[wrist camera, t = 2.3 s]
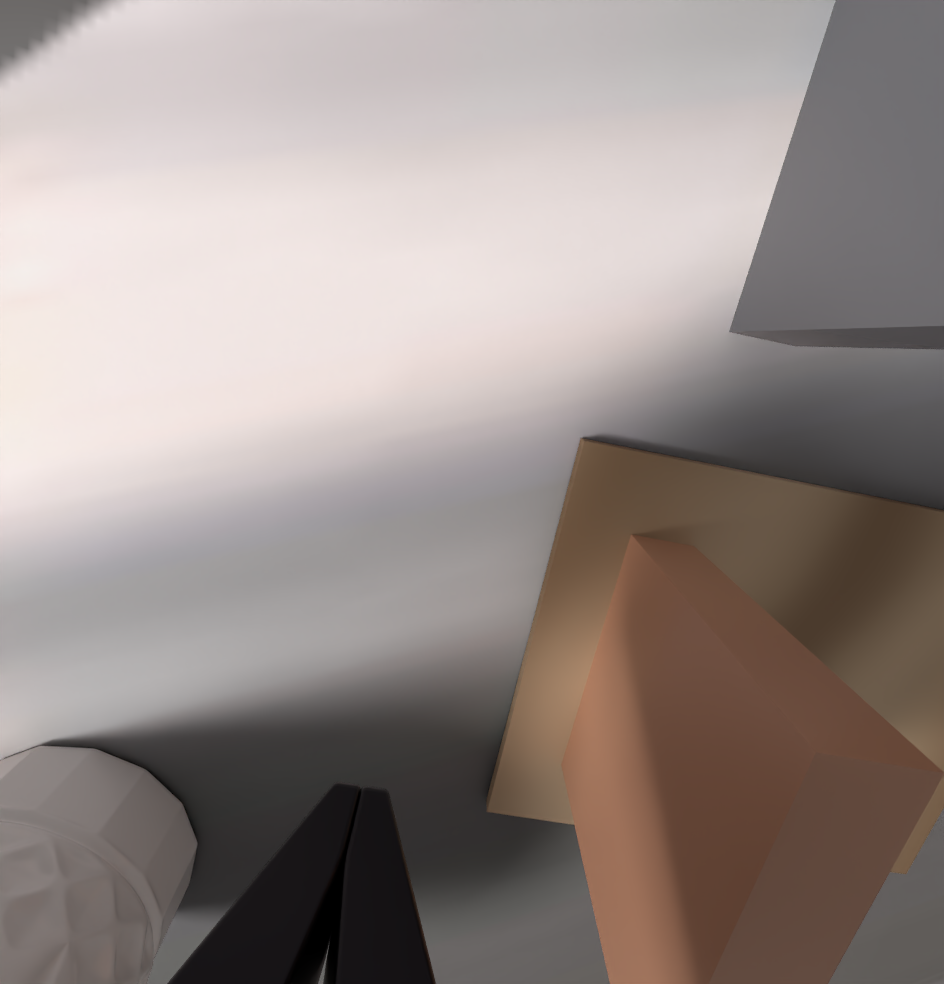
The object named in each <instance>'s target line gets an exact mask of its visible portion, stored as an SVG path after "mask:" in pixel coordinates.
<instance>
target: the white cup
mask: <svg viewBox="0 0 944 984" xmlns="http://www.w3.org/2000/svg"><path fill="white" fill-rule="evenodd" d="M197 845H198V843H197V839H196V837H195V834H194V832H193V829H192V827H191V824H190V821H189V819H188V816H187V814H186V811H185V809H184V806H183V804H182V803H181V802H180V801H179V800H178V799H177V798H176V797H175V796H174V795H173V794H172V793H171V792H170V791H169V790H168V789H167V788H166V787H165V786H163V785H162V784H161V783H160V782H159V781H158V780H157V779H156V778H155V777H154V776H153V775H152V774H150V773H149V772H148V771H147V770H146V769H144V768H142V767H139V766H137V765H134V764H132V763H129V762H127V761H125V760H122V759H120V758H117V757H115V756H112V755H110V754H107V753H105V752H102V751H100V750H98V749H94V748H79V747H58V746H38V747H35V748H32V749H29V750H27V751H24V752H21V753H18V754H16V755H13V756H10V757H8V758H5V759H2V760H0V984H146V983H147V981H148V978H149V975H150V972H151V969H152V966H153V960H154V958H155V956H156V954H157V952H158V950H159V948H160V945H161V943H162V941H163V939H164V937H165V935H166V933H167V931H168V928H169V926H170V924H171V922H172V920H173V918H174V916H175V913H176V911H177V909H178V907H179V905H180V903H181V901H182V898H183V896H184V894H185V892H186V890H187V888H188V885H189V883H190V879H191V874H192V870H193V865H194V860H195V855H196V850H197Z"/></svg>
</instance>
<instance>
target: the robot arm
mask: <svg viewBox="0 0 944 984" xmlns="http://www.w3.org/2000/svg"><path fill="white" fill-rule="evenodd" d="M329 942H330V943H329ZM328 946H329V949H328ZM327 950H328V955H327V961H326V968H325V975H324V982H323V984H436V982H435V978H434V974H433V970H432V966H431V962H430V958H429V954H428V950H427V946H426V941H425V937H424V933H423V929H422V925H421V921H420V917H419V913H418V909H417V905H416V901H415V897H414V893H413V889H412V885H411V880H410V876H409V872H408V868H407V864H406V860H405V856H404V852H403V848H402V844H401V840H400V836H399V832H398V828H397V823H396V819H395V815H394V811H393V807H392V803H391V799H390V795H389V793H388V791H387V790H386V789H383V788H376V787H370V786H364V787H363V788H362V789H360V786H359V785H357V784H350V783H343V782H336V783H334V784H333V785H332V786H331V787H330V788H329V790H328V791H327V792H326V793H325V794H324V796H323V797H322V798H321V799H320V800H319V802H318V803H317V804H316V805H315V806H314V808H313V809H312V810H311V811H310V812H309V814H308V815H307V816H306V817H305V818H304V820H303V821H302V822H301V823H300V824H299V826H298V827H297V828H296V829H295V830H294V832H293V833H292V834H291V835H290V836H289V838H288V839H287V840H286V841H285V842H284V844H283V845H282V846H281V847H280V848H279V850H278V851H277V852H276V853H275V855H274V856H273V857H272V858H271V859H270V861H269V862H268V863H267V864H266V865H265V867H264V868H263V869H262V870H261V871H260V873H259V874H258V875H257V876H256V877H255V879H254V880H253V881H252V882H251V883H250V885H249V886H248V887H247V888H246V889H245V891H244V892H243V893H242V894H241V895H240V897H239V898H238V899H237V900H236V901H235V903H234V904H233V905H232V906H231V907H230V909H229V910H228V911H227V912H226V913H225V915H224V916H223V917H222V918H221V919H220V921H219V922H218V923H217V924H216V925H215V927H214V928H213V929H212V930H211V932H210V933H209V934H208V935H207V936H206V938H205V939H204V940H203V941H202V942H201V944H200V945H199V946H198V947H197V948H196V950H195V951H194V952H193V953H192V954H191V956H190V957H189V958H188V959H187V960H186V962H185V963H184V964H183V965H182V966H181V968H180V969H179V970H178V971H177V972H176V974H175V975H174V976H173V977H172V978H171V980H170V981H169V982H168V983H167V984H318V982H319V978H320V975H321V972H322V968H323V965H324V962H325V958H326V954H327Z"/></svg>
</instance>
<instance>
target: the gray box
mask: <svg viewBox="0 0 944 984" xmlns="http://www.w3.org/2000/svg"><path fill="white" fill-rule="evenodd" d="M729 332H732V333H737V334H741V335H746V336H751V337H755V338H760V339H764V340H769V341H774V342H778V343H783V344H788V345H792V346H807V347H854V348H902V349H944V0H836V2H835V5H834V8H833V11H832V14H831V17H830V20H829V23H828V26H827V30H826V33H825V36H824V39H823V42H822V45H821V48H820V51H819V54H818V57H817V61H816V64H815V67H814V70H813V73H812V76H811V79H810V82H809V85H808V89H807V92H806V95H805V98H804V101H803V104H802V107H801V110H800V113H799V117H798V120H797V123H796V126H795V129H794V132H793V135H792V138H791V141H790V144H789V148H788V151H787V154H786V157H785V160H784V163H783V166H782V169H781V172H780V176H779V179H778V182H777V185H776V188H775V191H774V194H773V197H772V200H771V204H770V207H769V210H768V213H767V216H766V219H765V222H764V225H763V228H762V232H761V235H760V238H759V241H758V244H757V247H756V250H755V253H754V256H753V259H752V263H751V266H750V269H749V272H748V275H747V278H746V281H745V284H744V287H743V291H742V294H741V297H740V300H739V303H738V306H737V309H736V312H735V315H734V319H733V322H732V325H731V328H730V331H729Z"/></svg>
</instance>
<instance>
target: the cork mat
mask: <svg viewBox="0 0 944 984" xmlns="http://www.w3.org/2000/svg"><path fill="white" fill-rule="evenodd" d="M631 534H632V535H638V536H643V537H648V538H654V539H659V540H664V541H670V542H675V543H680V544H686V545H691V546H694V547H696V548H697V549H698V550H699V551H700V552H701V553H702V554H703V555H704V556H705V557H707V558H708V559H709V560H710V561H711V562H712V563H713V564H714V565H715V566H717V567H718V568H719V569H720V570H721V571H722V572H723V573H724V574H725V575H726V576H728V577H729V578H730V579H731V580H732V581H733V582H734V583H735V584H736V585H738V586H739V587H740V588H741V589H742V590H743V591H744V592H745V593H746V594H747V595H749V596H750V597H751V598H752V599H753V600H754V601H755V602H756V603H757V604H758V605H760V606H761V607H762V608H763V609H764V610H765V611H766V612H767V613H768V614H770V615H771V616H772V617H773V618H774V619H775V620H776V621H777V622H778V623H779V624H781V625H782V626H783V627H784V628H785V629H786V630H787V631H788V632H789V633H790V634H792V635H793V636H794V637H795V638H796V639H797V640H798V641H799V642H800V643H802V644H803V645H804V646H805V647H806V648H807V649H808V650H809V651H810V652H811V653H813V654H814V655H815V656H816V657H817V658H818V659H819V660H820V661H821V662H823V663H824V664H825V665H826V666H827V667H828V668H829V669H830V670H831V671H832V672H834V673H835V674H836V675H837V676H838V677H839V678H840V679H841V680H842V681H843V682H845V683H846V684H847V685H848V686H849V687H850V688H851V689H852V690H853V691H855V692H856V693H857V694H858V695H859V696H860V697H861V698H862V699H863V700H864V701H866V702H867V703H868V704H869V705H870V706H871V707H872V708H873V709H874V710H875V711H877V712H878V713H879V714H880V715H881V716H882V717H883V718H884V719H885V720H887V721H888V722H889V723H890V724H891V725H892V726H893V727H894V728H895V729H896V730H898V731H899V732H900V733H901V734H902V735H903V736H904V737H905V738H906V739H908V740H909V741H910V742H911V743H912V744H913V745H914V746H915V747H916V748H917V749H919V750H920V751H921V752H922V753H923V754H924V755H925V756H926V757H927V758H928V759H930V760H931V761H932V762H933V763H934V764H935V765H936V766H937V767H938V768H940V769H941V770H942V771H943V772H944V510H941V509H936V508H931V507H926V506H921V505H916V504H911V503H906V502H901V501H896V500H890V499H885V498H880V497H875V496H870V495H865V494H860V493H855V492H850V491H845V490H840V489H835V488H830V487H825V486H820V485H815V484H810V483H805V482H800V481H795V480H790V479H785V478H780V477H775V476H770V475H765V474H760V473H755V472H750V471H745V470H740V469H735V468H730V467H725V466H720V465H715V464H710V463H704V462H699V461H694V460H689V459H684V458H679V457H674V456H669V455H664V454H659V453H654V452H649V451H644V450H639V449H634V448H629V447H624V446H619V445H614V444H609V443H604V442H599V441H594V440H589V439H584V438H581V439H580V443H579V447H578V451H577V454H576V458H575V462H574V466H573V470H572V474H571V478H570V481H569V485H568V489H567V493H566V497H565V501H564V504H563V508H562V512H561V516H560V520H559V524H558V527H557V531H556V535H555V539H554V543H553V547H552V550H551V554H550V558H549V562H548V566H547V570H546V573H545V577H544V581H543V585H542V589H541V593H540V596H539V600H538V604H537V608H536V612H535V616H534V619H533V623H532V627H531V631H530V635H529V639H528V642H527V646H526V650H525V654H524V658H523V662H522V665H521V669H520V673H519V677H518V681H517V685H516V688H515V692H514V696H513V700H512V704H511V708H510V712H509V715H508V719H507V723H506V727H505V731H504V735H503V738H502V742H501V746H500V750H499V754H498V758H497V761H496V765H495V769H494V773H493V777H492V781H491V784H490V788H489V792H488V796H487V800H486V802H487V812H491V813H498V814H504V815H511V816H518V817H525V818H531V819H538V820H545V821H552V822H558V823H565V824H572V825H574V820H573V816H572V811H571V807H570V802H569V798H568V793H567V789H566V784H565V780H564V775H563V771H562V767H561V764H562V761H563V757H564V754H565V751H566V748H567V744H568V741H569V738H570V734H571V731H572V728H573V724H574V721H575V718H576V715H577V711H578V708H579V705H580V701H581V698H582V695H583V691H584V688H585V685H586V682H587V678H588V675H589V672H590V668H591V665H592V662H593V659H594V655H595V652H596V649H597V645H598V642H599V639H600V635H601V632H602V629H603V626H604V622H605V619H606V616H607V612H608V609H609V606H610V602H611V599H612V596H613V593H614V589H615V586H616V583H617V579H618V576H619V573H620V569H621V566H622V563H623V560H624V556H625V553H626V550H627V546H628V543H629V540H630V536H631ZM943 808H944V775H943V777H942V779H941V781H940V783H939V784H938V786H937V788H936V790H935V792H934V793H933V795H932V797H931V799H930V801H929V802H928V804H927V806H926V808H925V810H924V811H923V813H922V815H921V817H920V819H919V820H918V822H917V824H916V826H915V828H914V829H913V831H912V833H911V835H910V837H909V838H908V840H907V842H906V844H905V846H904V847H903V849H902V851H901V853H900V855H899V856H898V858H897V860H896V862H895V864H894V865H893V867H892V869H891V871H890V872H894V873H901V874H906V873H907V872H908V870H909V868H910V866H911V865H912V863H913V861H914V859H915V858H916V856H917V854H918V852H919V850H920V849H921V847H922V845H923V843H924V842H925V840H926V838H927V836H928V835H929V833H930V831H931V829H932V828H933V826H934V824H935V822H936V820H937V819H938V817H939V815H940V813H941V812H942V810H943Z"/></svg>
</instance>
